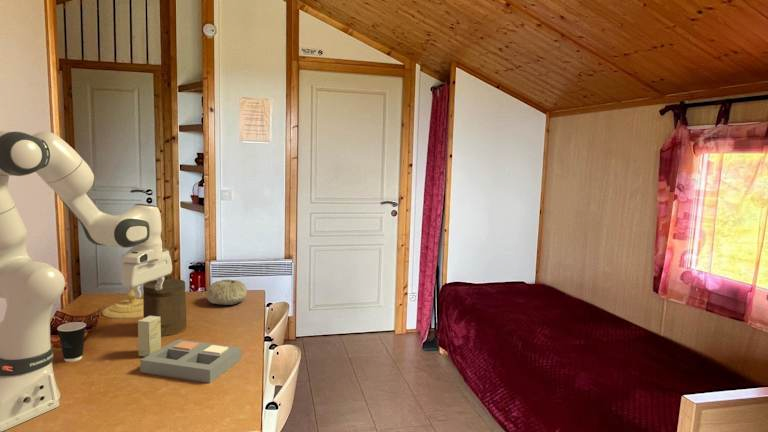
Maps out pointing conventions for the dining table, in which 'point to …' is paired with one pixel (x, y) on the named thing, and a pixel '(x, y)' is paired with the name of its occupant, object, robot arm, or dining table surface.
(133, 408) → the dining table surface
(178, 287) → the brown metal canister
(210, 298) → the decorative shell
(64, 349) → the dixie cup
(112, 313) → the desk lamp
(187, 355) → the socket plate
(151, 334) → the skincare box
